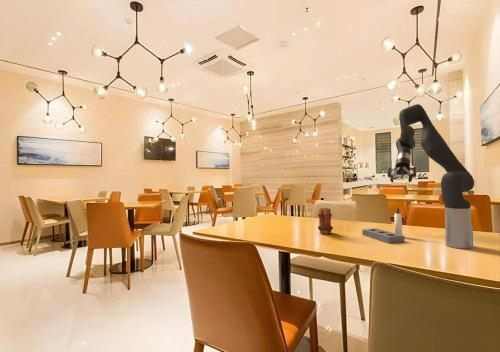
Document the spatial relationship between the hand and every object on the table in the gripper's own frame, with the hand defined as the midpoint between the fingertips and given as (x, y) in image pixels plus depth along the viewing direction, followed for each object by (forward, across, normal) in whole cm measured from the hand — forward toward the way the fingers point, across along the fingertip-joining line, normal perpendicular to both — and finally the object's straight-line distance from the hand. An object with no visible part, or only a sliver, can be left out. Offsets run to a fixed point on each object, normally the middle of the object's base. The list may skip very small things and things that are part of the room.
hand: (400, 181), depth 151 cm
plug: (+28, 0, +12) cm, 31 cm away
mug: (+38, -34, +3) cm, 51 cm away
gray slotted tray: (+34, -6, +7) cm, 35 cm away
